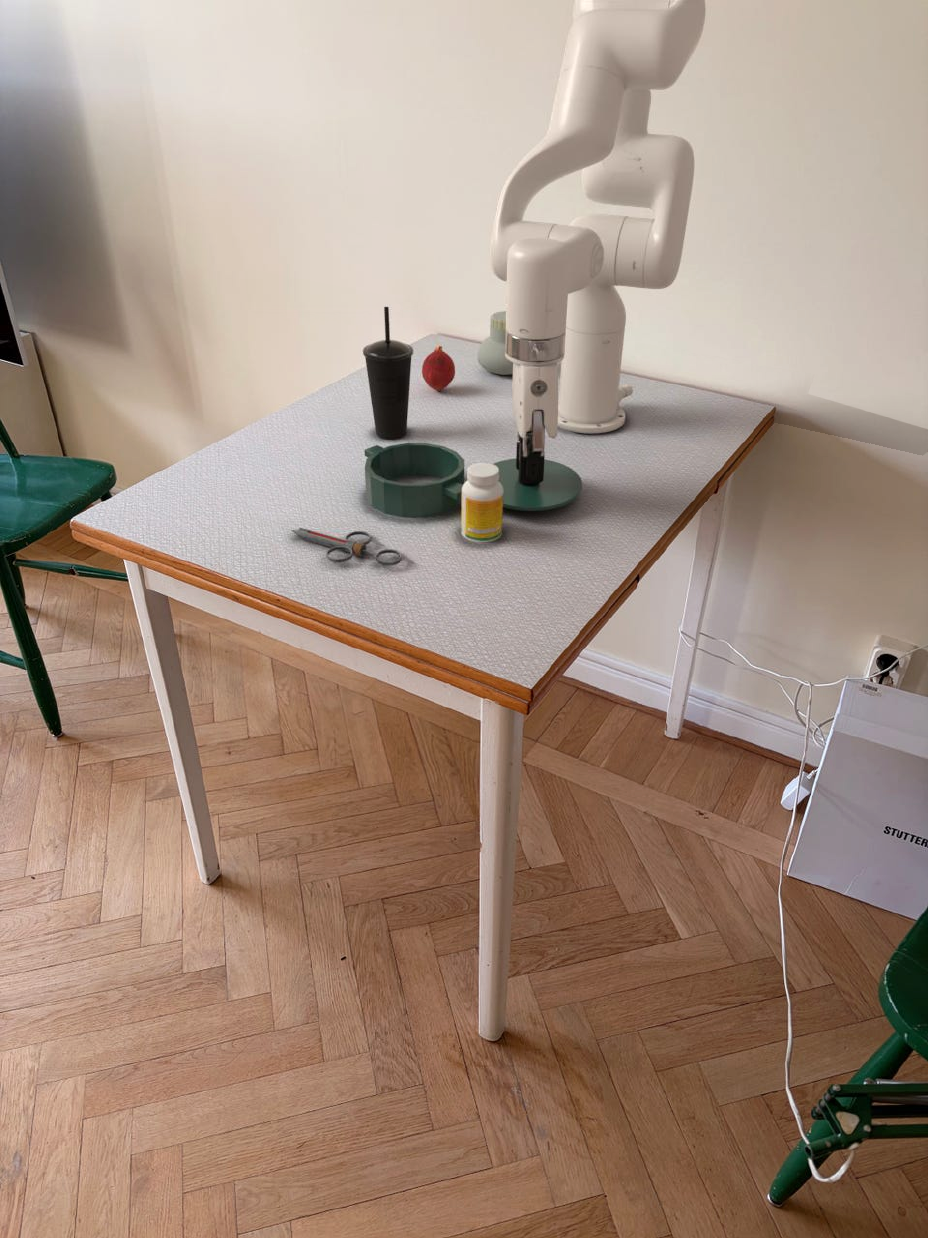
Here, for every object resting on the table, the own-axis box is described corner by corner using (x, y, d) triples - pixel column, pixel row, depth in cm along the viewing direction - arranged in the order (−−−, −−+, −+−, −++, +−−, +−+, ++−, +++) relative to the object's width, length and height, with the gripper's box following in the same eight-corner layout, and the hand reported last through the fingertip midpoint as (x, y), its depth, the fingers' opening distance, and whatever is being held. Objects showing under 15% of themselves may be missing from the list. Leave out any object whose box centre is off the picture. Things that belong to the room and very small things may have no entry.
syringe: (299, 520, 127) (298, 509, 126) (415, 552, 120) (415, 540, 119) (264, 546, 121) (262, 534, 120) (384, 581, 114) (383, 569, 114)
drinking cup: (418, 424, 153) (415, 300, 142) (411, 444, 147) (408, 316, 136) (372, 422, 154) (365, 298, 142) (363, 442, 148) (355, 314, 136)
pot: (406, 461, 142) (405, 429, 139) (497, 504, 131) (499, 470, 128) (335, 490, 134) (332, 456, 131) (426, 538, 123) (425, 502, 120)
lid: (525, 455, 139) (527, 410, 135) (603, 488, 131) (607, 441, 126) (454, 488, 131) (454, 441, 126) (532, 526, 122) (535, 477, 118)
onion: (454, 397, 163) (454, 352, 158) (421, 397, 163) (420, 351, 159) (455, 385, 168) (455, 340, 163) (423, 384, 168) (422, 340, 163)
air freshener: (495, 357, 180) (496, 304, 174) (536, 363, 177) (539, 310, 171) (473, 376, 171) (473, 321, 166) (515, 383, 169) (517, 327, 163)
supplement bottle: (454, 530, 125) (454, 464, 119) (490, 522, 127) (492, 456, 121) (472, 549, 121) (473, 481, 115) (509, 540, 123) (511, 473, 117)
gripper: (575, 367, 112) (566, 503, 123) (554, 321, 125) (547, 448, 136) (513, 369, 112) (509, 505, 123) (498, 323, 125) (495, 450, 136)
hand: (529, 474), depth 129 cm, fingers closed on lid, 3 cm apart
